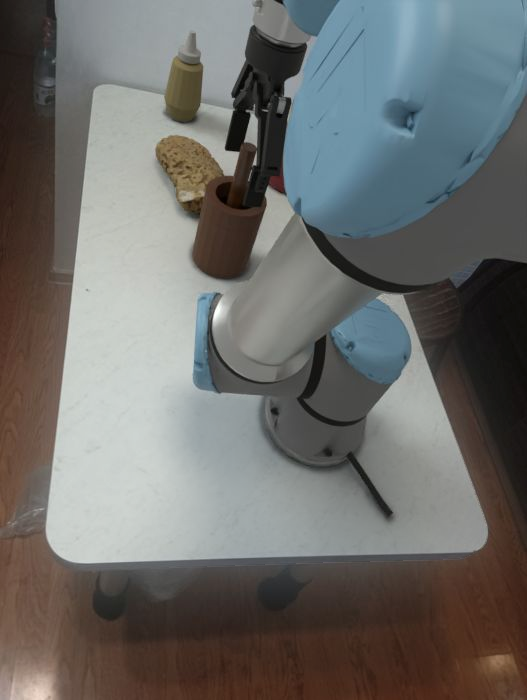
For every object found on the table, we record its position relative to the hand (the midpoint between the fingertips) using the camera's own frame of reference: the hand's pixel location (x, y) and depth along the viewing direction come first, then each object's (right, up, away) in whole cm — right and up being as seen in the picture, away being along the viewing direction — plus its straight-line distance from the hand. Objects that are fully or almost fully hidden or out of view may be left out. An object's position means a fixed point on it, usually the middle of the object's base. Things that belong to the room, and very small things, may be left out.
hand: (241, 176), depth 83 cm
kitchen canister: (+9, +11, +35) cm, 37 cm away
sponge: (-12, +6, +24) cm, 27 cm away
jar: (-5, -10, +14) cm, 18 cm away
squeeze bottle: (-15, +26, +38) cm, 49 cm away
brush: (-4, -10, +13) cm, 17 cm away
